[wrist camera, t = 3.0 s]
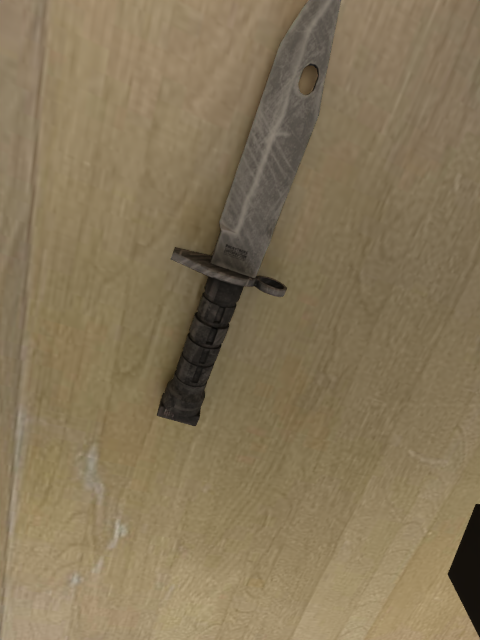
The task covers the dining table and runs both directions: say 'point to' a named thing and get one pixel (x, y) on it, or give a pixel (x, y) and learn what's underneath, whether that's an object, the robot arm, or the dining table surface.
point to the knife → (253, 203)
